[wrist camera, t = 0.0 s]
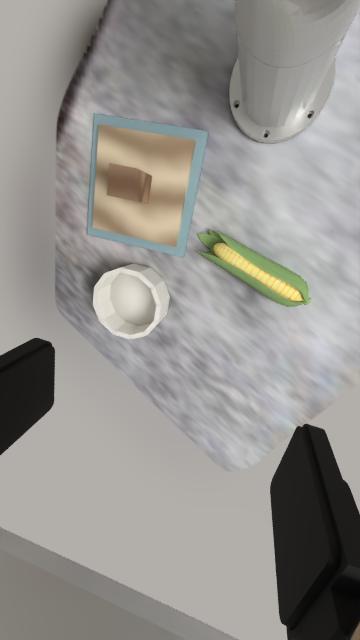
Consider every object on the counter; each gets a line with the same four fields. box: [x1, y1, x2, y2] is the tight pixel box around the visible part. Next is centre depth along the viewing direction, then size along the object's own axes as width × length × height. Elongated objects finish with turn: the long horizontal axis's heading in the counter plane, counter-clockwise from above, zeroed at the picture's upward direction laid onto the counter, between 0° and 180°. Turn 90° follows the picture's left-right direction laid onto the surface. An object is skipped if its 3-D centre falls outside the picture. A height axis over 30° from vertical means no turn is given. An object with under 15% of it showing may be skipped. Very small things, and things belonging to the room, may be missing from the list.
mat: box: [87, 113, 209, 258], centre depth 43 cm, size 18×18×1 cm
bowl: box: [93, 263, 170, 339], centre depth 47 cm, size 12×12×6 cm
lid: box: [92, 124, 196, 247], centre depth 39 cm, size 15×15×7 cm
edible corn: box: [195, 229, 311, 307], centre depth 41 cm, size 5×20×5 cm, turn 61°
